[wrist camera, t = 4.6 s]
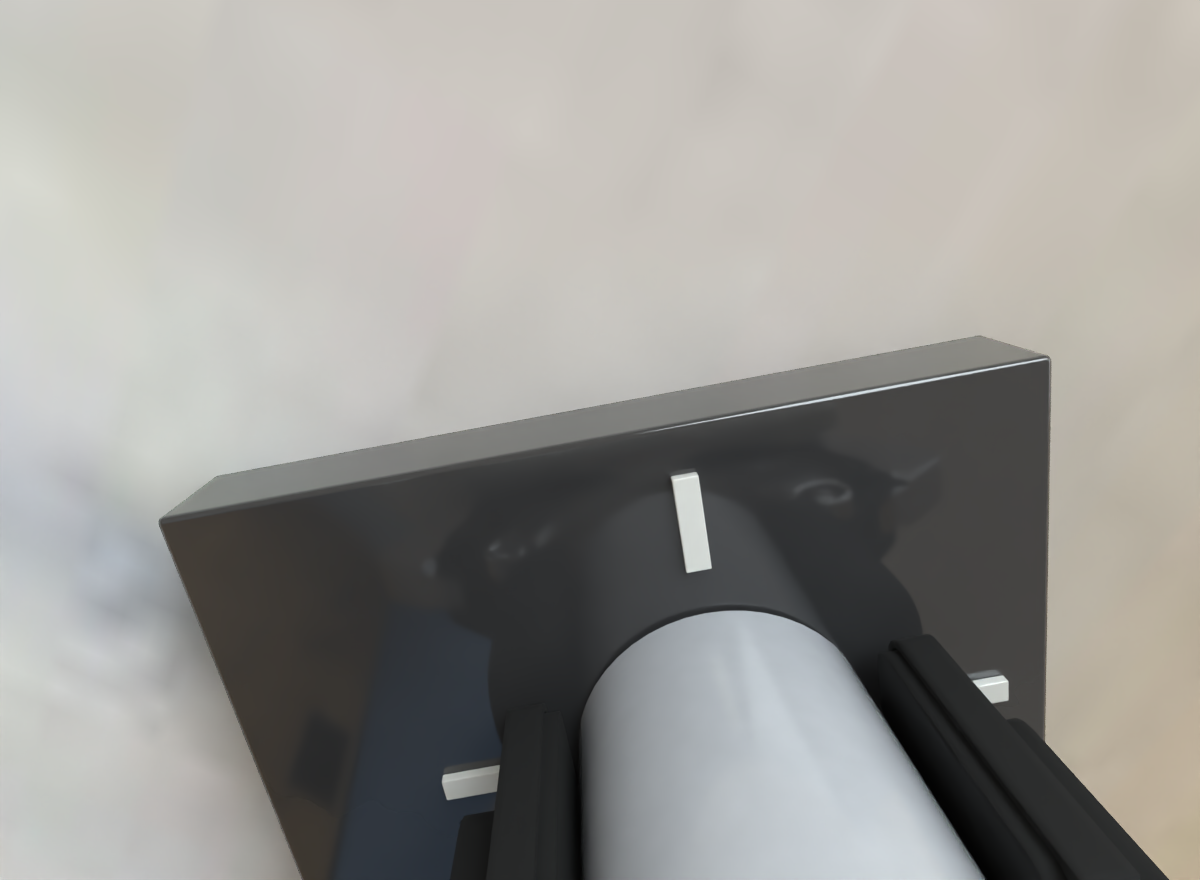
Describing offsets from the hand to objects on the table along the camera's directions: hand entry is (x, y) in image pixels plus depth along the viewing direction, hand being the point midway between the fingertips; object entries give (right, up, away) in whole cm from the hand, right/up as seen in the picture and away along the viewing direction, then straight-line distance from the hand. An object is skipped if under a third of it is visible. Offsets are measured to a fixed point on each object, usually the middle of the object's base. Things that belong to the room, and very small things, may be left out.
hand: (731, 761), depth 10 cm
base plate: (-1, +1, +3) cm, 4 cm away
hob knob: (0, 0, 0) cm, 1 cm away
